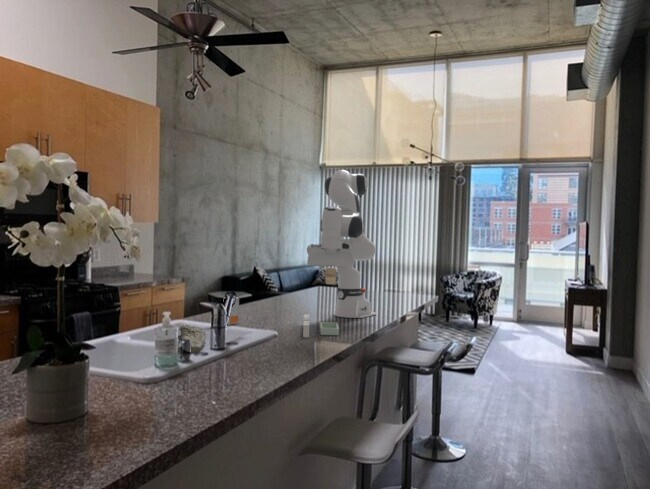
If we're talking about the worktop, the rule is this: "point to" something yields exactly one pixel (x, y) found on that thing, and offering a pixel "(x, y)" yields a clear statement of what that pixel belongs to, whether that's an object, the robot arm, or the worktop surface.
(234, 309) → the skincare box
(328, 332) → the pale green tray
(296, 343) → the worktop surface
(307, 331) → the door edge
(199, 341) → the long grey stone
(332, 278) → the bar
